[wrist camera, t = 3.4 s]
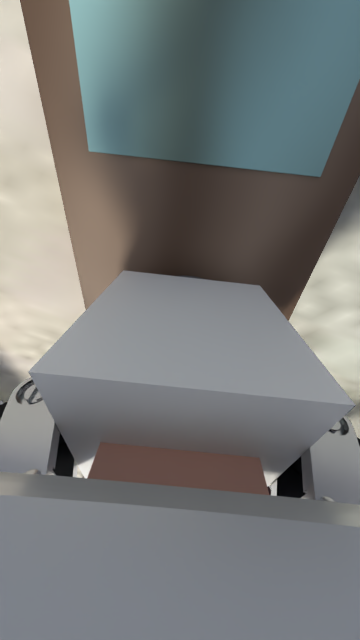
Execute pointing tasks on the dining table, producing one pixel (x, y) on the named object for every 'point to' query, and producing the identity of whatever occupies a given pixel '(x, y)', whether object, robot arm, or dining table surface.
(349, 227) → the dining table surface
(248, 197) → the post stand
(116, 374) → the white cube with handle
